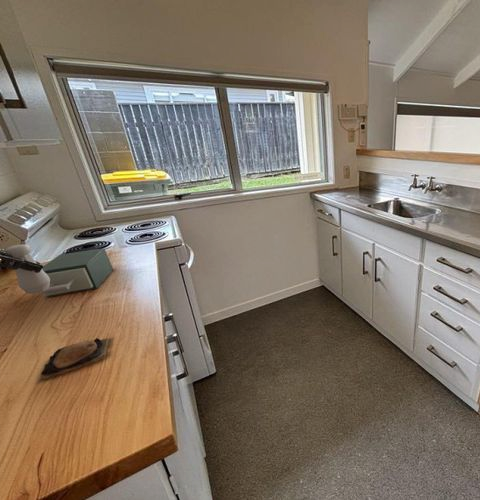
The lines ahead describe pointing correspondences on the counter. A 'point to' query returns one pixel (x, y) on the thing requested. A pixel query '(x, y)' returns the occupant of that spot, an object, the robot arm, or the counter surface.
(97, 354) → the brown and black piece
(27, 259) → the salt shaker
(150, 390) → the counter surface
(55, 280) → the drawer
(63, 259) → the cabinet
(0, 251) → the robot arm
